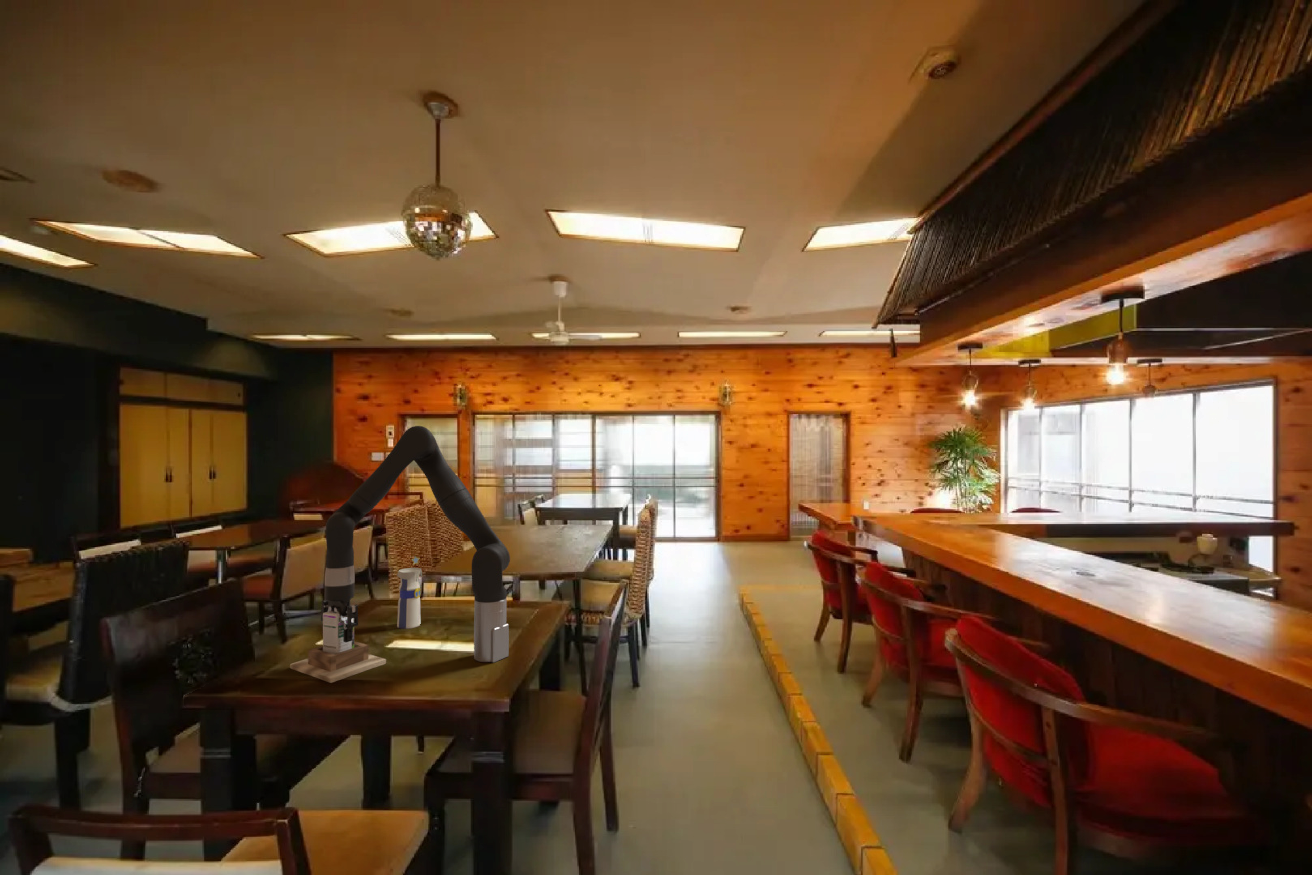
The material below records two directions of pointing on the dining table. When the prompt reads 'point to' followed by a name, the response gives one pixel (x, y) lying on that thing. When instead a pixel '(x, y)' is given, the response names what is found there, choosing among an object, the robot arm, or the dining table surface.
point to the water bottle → (409, 597)
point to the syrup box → (334, 634)
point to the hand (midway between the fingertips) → (339, 639)
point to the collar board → (337, 663)
